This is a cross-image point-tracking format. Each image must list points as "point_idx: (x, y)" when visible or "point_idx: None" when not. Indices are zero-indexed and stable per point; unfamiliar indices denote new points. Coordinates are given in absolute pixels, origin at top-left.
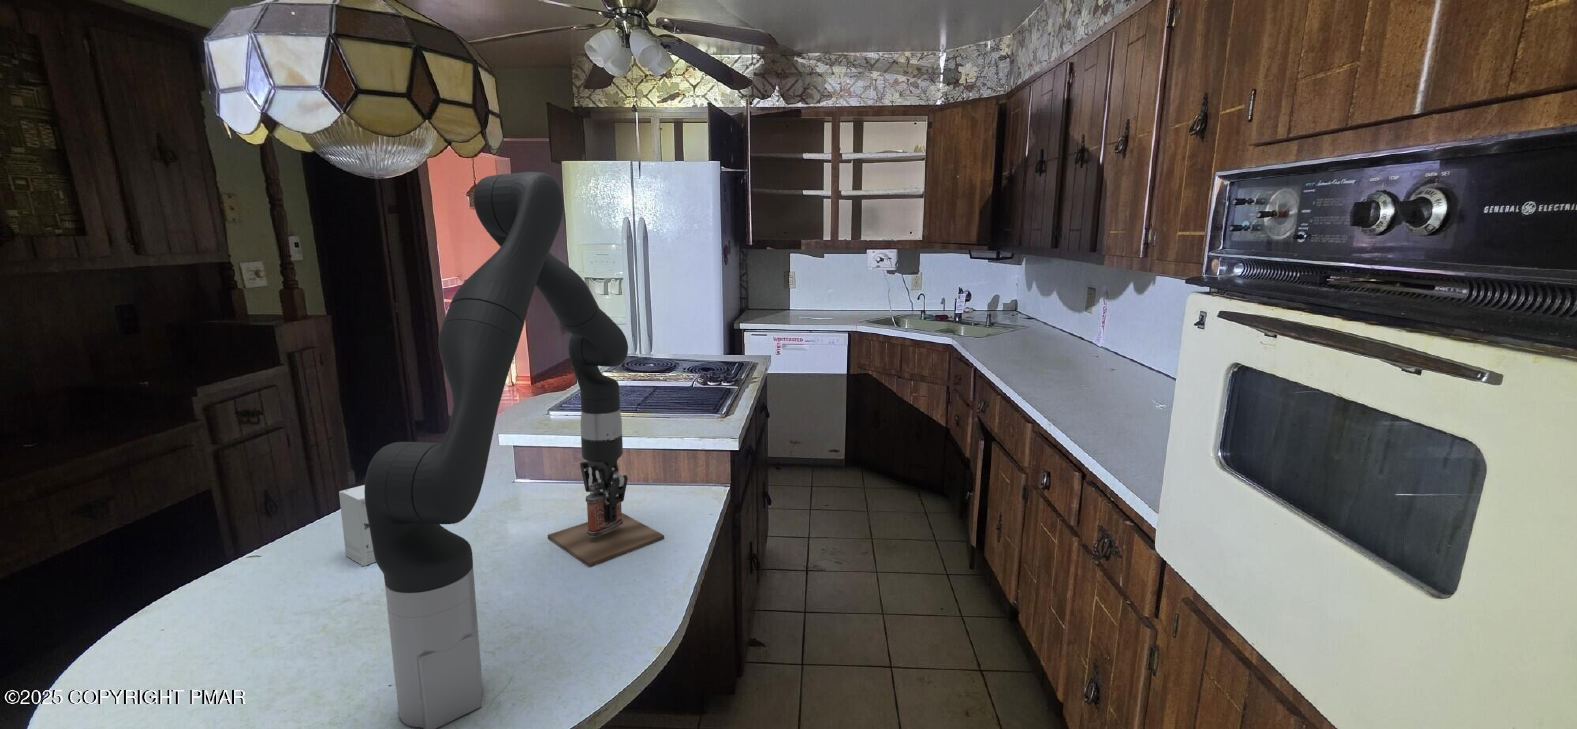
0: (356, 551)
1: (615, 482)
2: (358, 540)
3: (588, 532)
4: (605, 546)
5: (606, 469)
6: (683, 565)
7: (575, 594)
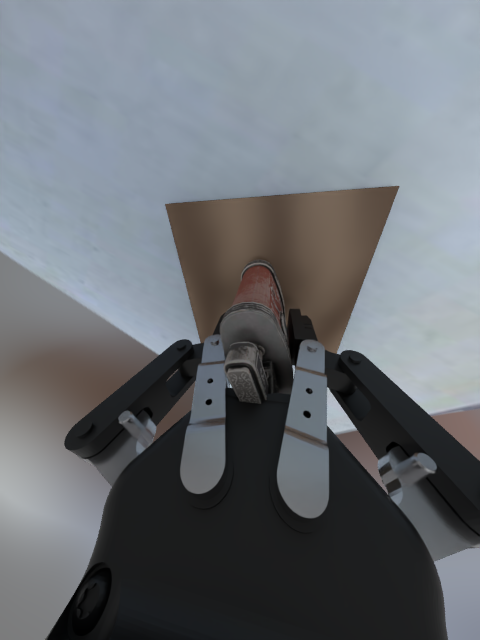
0: None
1: (80, 424)
2: None
3: (256, 262)
4: (220, 272)
5: (128, 510)
6: (121, 321)
7: (55, 100)
